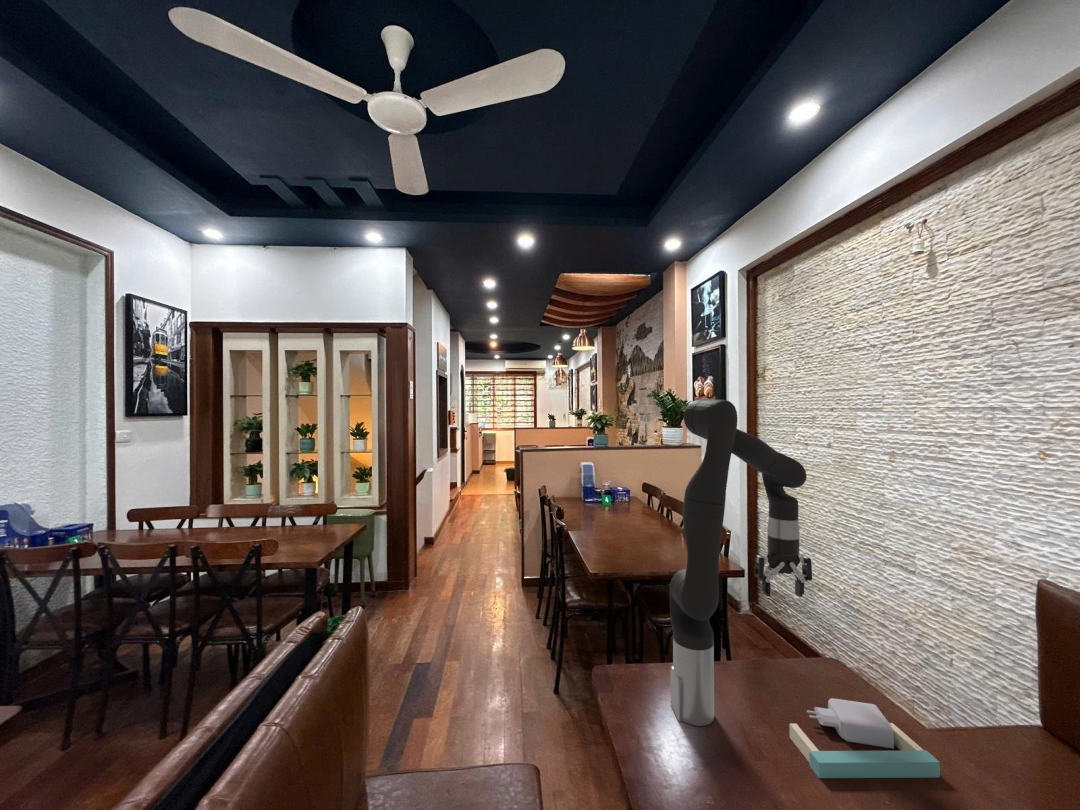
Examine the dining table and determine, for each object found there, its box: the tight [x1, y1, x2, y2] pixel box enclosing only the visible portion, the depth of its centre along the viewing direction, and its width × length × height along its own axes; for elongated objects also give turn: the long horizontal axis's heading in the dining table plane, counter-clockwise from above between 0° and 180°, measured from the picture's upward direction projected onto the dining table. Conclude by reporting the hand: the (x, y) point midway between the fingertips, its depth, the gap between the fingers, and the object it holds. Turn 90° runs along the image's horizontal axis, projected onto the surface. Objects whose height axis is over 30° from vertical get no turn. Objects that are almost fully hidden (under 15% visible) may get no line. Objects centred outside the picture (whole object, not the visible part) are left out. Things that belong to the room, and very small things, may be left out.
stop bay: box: [788, 722, 941, 779], centre depth 93 cm, size 24×11×3 cm, turn 90°
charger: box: [806, 697, 895, 750], centre depth 101 cm, size 5×9×15 cm
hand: (782, 595), depth 119 cm, fingers open, 8 cm apart
